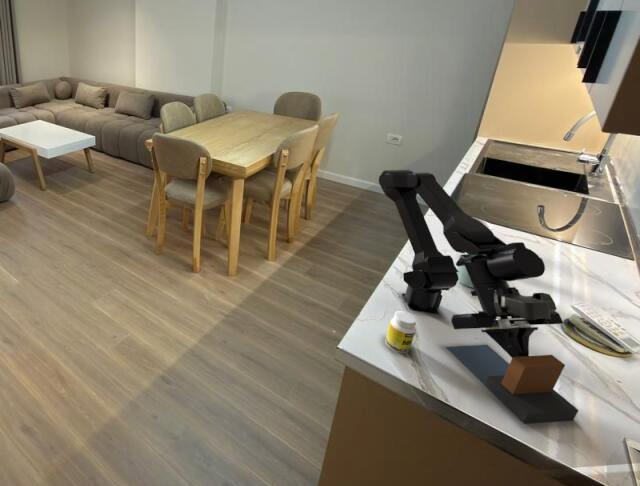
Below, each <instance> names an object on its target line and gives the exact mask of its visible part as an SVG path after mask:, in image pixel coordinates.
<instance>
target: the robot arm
mask: <svg viewBox="0 0 640 486" xmlns="http://www.w3.org/2000/svg"><path fill="white" fill-rule="evenodd" d="M378 184H379V186H380V188H381V190H382V192H383V193H384V195H385V196H386V197H388V199H390V200H391V201H392V202H393V203H394V204H395V207H396V209H397V212H398V214H399V218H400V220H401V221H402V225H403V227H404V230H405V233H406V235H407V238H408V240H409V243H410V245H411V249H412V250H413V253H414V256H413V260H412V263H411V268H412V270H411V271H405V272H403V274H402V275H403V282H404V283H406V284H407V286H406V290H405V292H404V293H401V297H402V299H403V300H404V303H406V305H407V307H408V309H409V310H411V311H416V312H420V313H421V312H422V313H427V314H432V315H433V314H434V315H439V314H440V312H439V311H438V309H439V308H440V306H441V303H442V299H443V295H442V293H443V291H449V290H450V289H453V288H454V287H456V286H457V283H458V281H459V279H458V274H457V272H459V271H458V270H457V266H465V267H466V270H467V272H468V274H469V277H470V279H471V282H472V284H473V287H474V288H473V290H471V291H470V294H471V296H472V297H477V299H478V303H479V305H480V307H481V309H482V310H479V311H478V312H475V313H473V312H472V313H458V314H452V316H451V318H450V319H451V324H452V326H453V330H468V329H469V330H470V329H471V330H472V329H480V330H481V332H482V333H485V334H486V335H487V336H489V337H490V338H491V339H492V340H493V341H494V342H495V343H496V344H497V345H499V346H500V348H502V349H503V350H504V351H505V352H506V354H507V355H508V356H509V357H510V358H511V359H512V358H513V357H522V356H530V354H529V351H530V348H529V345H530V344H529V343H530V337H531V335H532V334H533V333H534V332H535V331H538V330H539V327H538V326H539V325H540V326H541V325H563V324H564V321H563V319H562V317H561V314H560V313H559V312H557V311H556V310H557V306H556V303H555V301H554V298H552V296H551V294H550V293H546V292H533V293H532V295H521V294H520V293H521V292H519V289H518V288H517V287H516V286H511V287H510V285H509V282H514V281H522V280H529V279H534V278H540V277H541V276H543V275H544V274H545V271H546V265H545V263H544V260H543V259H542V257H540V256H539V255H538V253H536V252H535V251H533V250H532V249H530V248H527V247H526V245H525V243H524V242H523V241H522V242H521V241H520V242H519V241H518V242H516V241H515V242H510V243H505V242H504V241H503V240H502V239H501V238H499V237H497V236H496V235H495V234H494V232H493V230H492V231H491V230H490V229H488V228H487V227H486V226H485V225H484V224H482V223H481V222H480V221H478V220H476V219H474V218H475V217H473V218H472V216H471V215H468V214H467V213H466V212H464V211H463V209H462V208H461V207H460V206H459V205H458V203H456V201H455V200H454V199H453V198H452V197H451V196H450V195H449V193H447V191H446V190H445V189H444V188H443V187H442V186H441V184H440V183H439V182H438V181H437V178H436V175H434V174H433V173H430V172H414V171H413V170H410V169H387V170H383V171H382V172H381V174H380V175H379V177H378ZM417 195H419V197H420V198H421V200H423V202H424V203H425V204H426V205H427V207H428V208H429V209H430V211H432V213H433V214H434V215H435V217H436V218H437V220H439V221H440V223H441V224H442V225H441V226H442V234H443V237H444V238H445V239H446V241H447V242H448V245H449V246H450V248H451V249H452V250H453V251H454V252H456V253H460V255H461V253H468V254H470V255H461V256H460V255H459V258H460V259H458V260H457V261H456V262H454V258H452V256H451V255H449V254H447V255H444V254H442V252H440V251H439V250H438V247H437V245H436V242H435V240H434V237H433V235H432V232H431V230H430V228H429V225H428V223H427V221H426V219H425V215H424V213H423V211H422V209H421V206H420V203H419V202H418V199H417ZM484 254H485V255H486V256H485V255H484ZM471 255H476V256H471ZM509 317H510V318H509Z"/></svg>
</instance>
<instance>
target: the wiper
mask: <svg viewBox="0 0 640 486" xmlns="http://www.w3.org/2000/svg"><path fill="white" fill-rule="evenodd" d="M509 364H510V365H509V367H508V369H507V371H506V374H505V375H501V376H488V377H487V380H486V382H485V385H484V387H485V388H486V389H487V390H488V391H489V392H491V394H493V396H495V398H497V399H498V400H499V399H500V400H501V401H502V402H503V403H504V404H505V405H506V406H507V407H508V408H509V409H510V410H511V411H512V412H513V413H514V414H515V415H516V416H517V417H518V418H519V419H520V420H521V421H522V422H523V423H527V422H541V421H556V420H571V419H573V420H575V418H576V417H577V414H578V412H579V411H580V410H579V409H578V408H577V407H575V406H574V405H573V404H572V403H570V402H569V401H568V400H567V399H565V397H563V396H562V395H561V394H560V393H559V392H558V391H556V390H555V386H556V384H557V382H558V380H559V378H560V376H561V375H562V372H563V371H564V368H565V367H566V364H565V363H563V362H562V361H561V360H559V359H558V358H557V357H555V356H554V355H553V354H543V355H529V356H522V357H513V358H512V357H511V360H510V362H509ZM500 400H499V401H500ZM501 401H500V402H501ZM502 402H501V403H502ZM503 403H502V404H503ZM504 404H503V405H504ZM505 405H504V406H505ZM506 406H505V407H506ZM507 407H506V408H507ZM508 408H507V409H508ZM509 409H508V410H509ZM510 410H509V411H510ZM511 411H510V412H511ZM512 412H511V413H512ZM513 413H512V414H513ZM514 414H513V415H514ZM515 415H514V416H515ZM516 416H515V417H516ZM517 417H516V418H517ZM518 418H517V419H518ZM519 419H518V420H519ZM520 420H519V421H520ZM521 421H520V422H521ZM522 422H521V423H522ZM523 423H522V424H523Z"/></svg>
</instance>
